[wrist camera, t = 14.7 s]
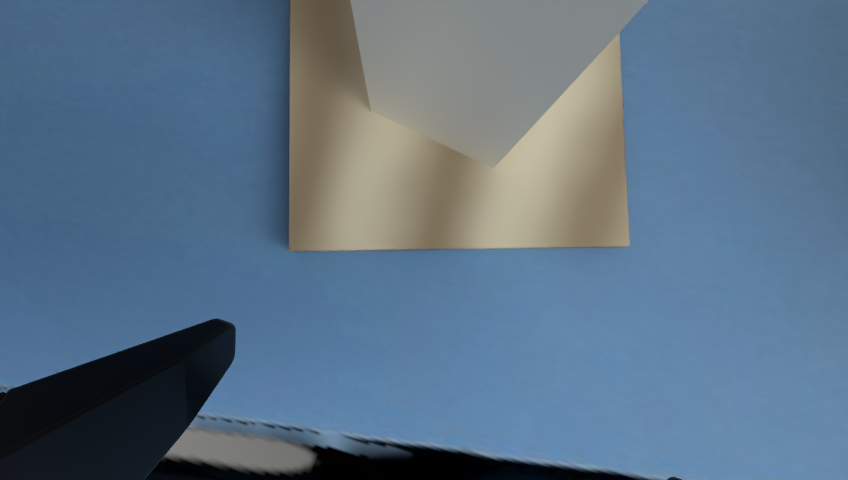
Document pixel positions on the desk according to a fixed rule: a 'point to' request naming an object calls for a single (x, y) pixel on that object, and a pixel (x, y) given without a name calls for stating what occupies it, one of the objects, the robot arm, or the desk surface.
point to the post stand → (443, 161)
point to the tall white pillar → (479, 63)
